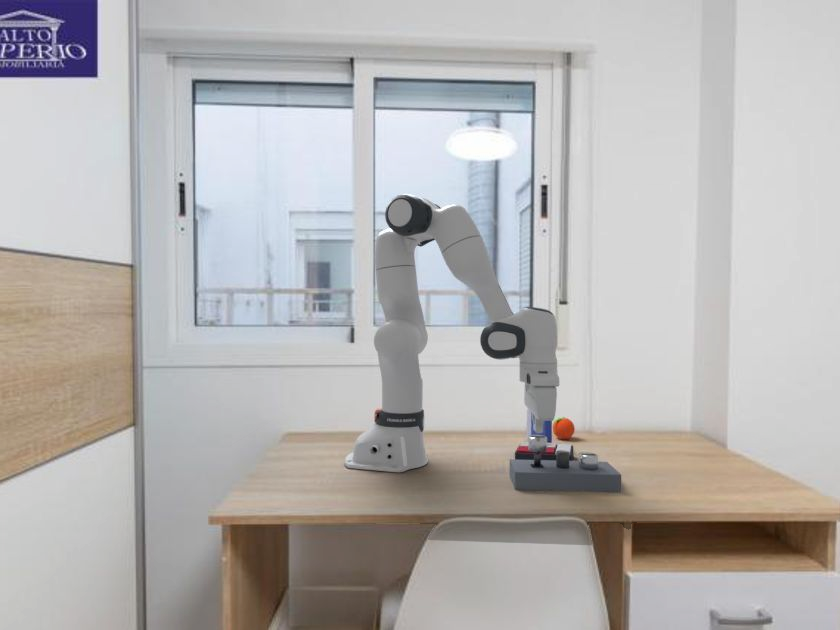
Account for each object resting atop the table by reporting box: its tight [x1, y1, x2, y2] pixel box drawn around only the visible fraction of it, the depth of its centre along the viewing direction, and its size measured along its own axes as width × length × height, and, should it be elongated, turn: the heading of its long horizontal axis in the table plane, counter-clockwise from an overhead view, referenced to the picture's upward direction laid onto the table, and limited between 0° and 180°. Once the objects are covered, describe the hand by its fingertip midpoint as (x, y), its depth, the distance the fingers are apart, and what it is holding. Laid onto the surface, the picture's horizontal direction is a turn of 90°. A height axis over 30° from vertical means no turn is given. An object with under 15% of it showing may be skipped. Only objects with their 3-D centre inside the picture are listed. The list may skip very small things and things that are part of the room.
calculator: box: [514, 441, 575, 461], centre depth 136 cm, size 11×4×15 cm
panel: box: [509, 459, 622, 493], centre depth 116 cm, size 24×10×4 cm, turn 87°
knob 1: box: [528, 435, 547, 467], centre depth 116 cm, size 4×4×7 cm
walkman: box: [526, 408, 553, 443], centre depth 146 cm, size 8×3×12 cm, turn 31°
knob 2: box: [578, 451, 599, 470], centre depth 116 cm, size 4×4×7 cm
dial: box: [556, 450, 569, 469], centre depth 116 cm, size 3×3×4 cm
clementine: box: [552, 416, 576, 440], centre depth 158 cm, size 8×7×7 cm
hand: (538, 431), depth 116 cm, fingers closed
